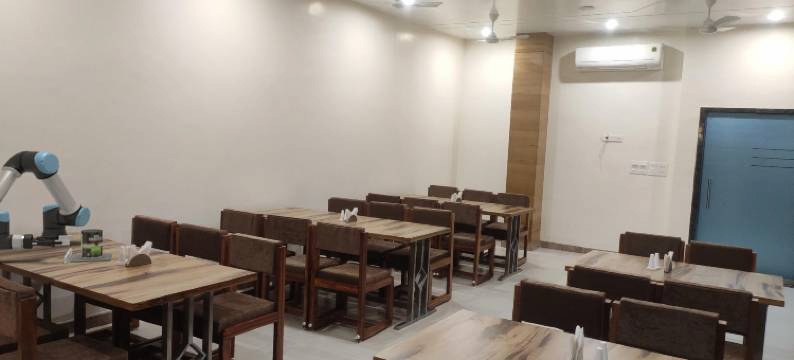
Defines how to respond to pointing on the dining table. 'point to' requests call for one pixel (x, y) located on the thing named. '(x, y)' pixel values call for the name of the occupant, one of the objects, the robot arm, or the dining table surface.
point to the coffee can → (91, 244)
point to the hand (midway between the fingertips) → (71, 240)
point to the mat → (78, 259)
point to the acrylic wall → (68, 256)
